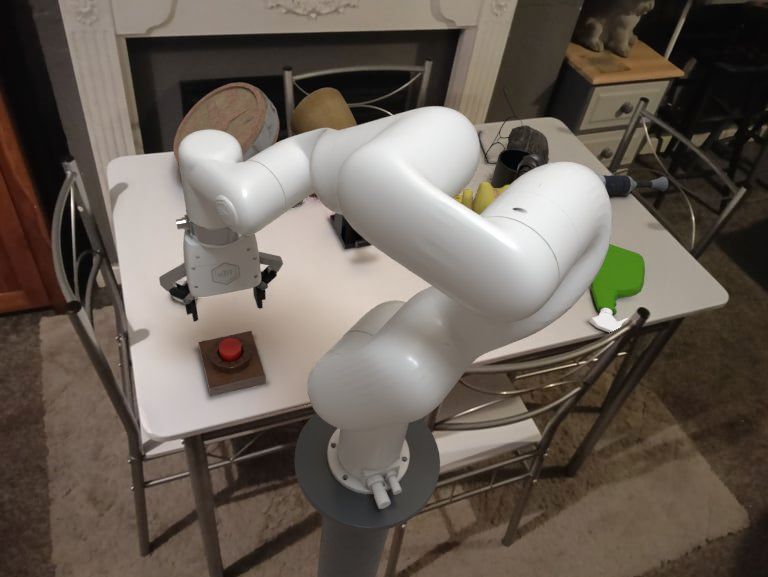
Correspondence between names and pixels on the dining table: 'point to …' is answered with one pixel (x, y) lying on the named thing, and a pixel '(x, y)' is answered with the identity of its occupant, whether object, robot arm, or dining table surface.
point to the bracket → (345, 231)
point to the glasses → (500, 130)
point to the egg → (181, 284)
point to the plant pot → (322, 112)
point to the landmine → (234, 118)
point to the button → (230, 349)
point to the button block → (231, 365)
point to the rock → (529, 141)
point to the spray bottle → (616, 284)
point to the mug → (507, 167)
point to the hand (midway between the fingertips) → (226, 308)
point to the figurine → (481, 197)
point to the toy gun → (630, 184)
